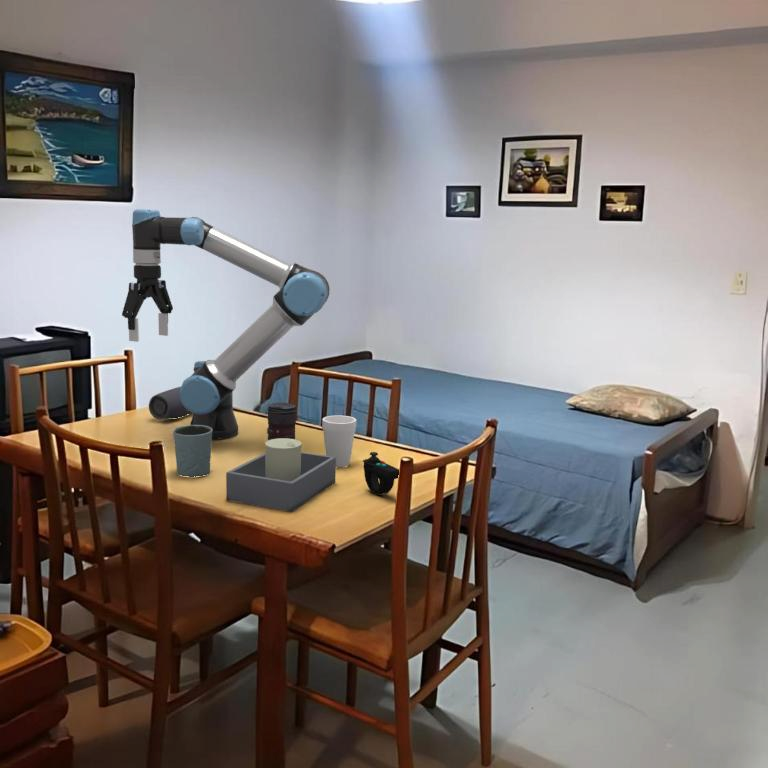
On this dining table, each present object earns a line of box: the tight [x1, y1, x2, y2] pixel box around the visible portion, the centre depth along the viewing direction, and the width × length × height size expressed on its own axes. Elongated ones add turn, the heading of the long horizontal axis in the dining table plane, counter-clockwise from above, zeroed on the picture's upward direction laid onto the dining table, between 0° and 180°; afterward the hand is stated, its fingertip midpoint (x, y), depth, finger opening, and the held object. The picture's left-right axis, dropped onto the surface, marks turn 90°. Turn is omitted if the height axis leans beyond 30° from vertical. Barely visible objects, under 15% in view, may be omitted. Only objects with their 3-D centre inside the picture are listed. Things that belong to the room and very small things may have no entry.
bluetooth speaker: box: [148, 386, 193, 420], centre depth 277 cm, size 23×9×10 cm, turn 157°
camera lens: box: [266, 402, 297, 441], centre depth 235 cm, size 8×8×15 cm
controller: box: [362, 451, 400, 496], centre depth 206 cm, size 4×12×10 cm, turn 37°
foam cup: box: [321, 414, 357, 468], centre depth 229 cm, size 10×9×13 cm
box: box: [225, 451, 337, 513], centre depth 206 cm, size 24×18×7 cm
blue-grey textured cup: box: [172, 424, 213, 477], centre depth 217 cm, size 10×10×12 cm
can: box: [264, 438, 303, 482], centre depth 206 cm, size 9×9×12 cm
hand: (149, 338), depth 238 cm, fingers open, 13 cm apart
